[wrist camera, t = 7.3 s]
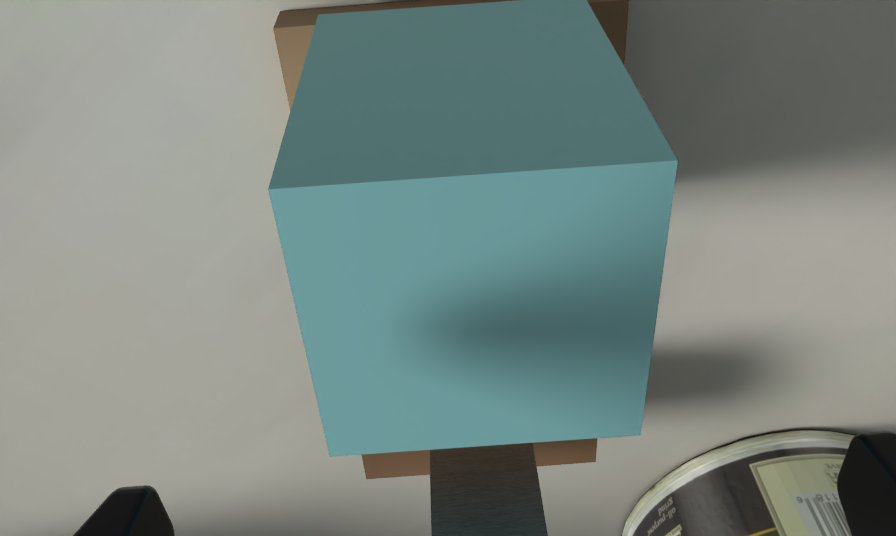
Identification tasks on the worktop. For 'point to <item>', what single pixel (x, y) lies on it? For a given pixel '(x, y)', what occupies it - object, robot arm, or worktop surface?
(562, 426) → the turquoise upright block
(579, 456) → the walnut strip
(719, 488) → the coffee can
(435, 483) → the dark metal post
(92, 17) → the worktop surface
